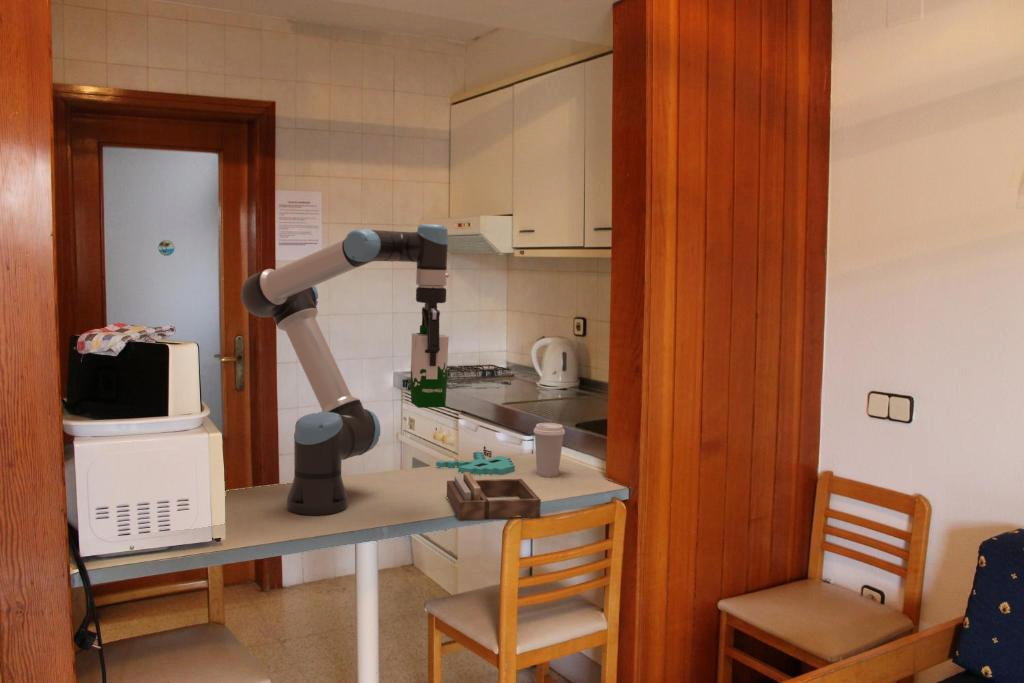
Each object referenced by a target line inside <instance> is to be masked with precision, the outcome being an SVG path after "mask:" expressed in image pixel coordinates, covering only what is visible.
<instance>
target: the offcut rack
mask: <svg viewBox="0 0 1024 683" xmlns="http://www.w3.org/2000/svg"><path fill="white" fill-rule="evenodd" d="M454 481H455V480H446V498H447V497H448V499H449V500H448V499H447V500H448V502H449V501H450V502H449V504H450V503H451V504H450V506H451V505H452V506H451V508H452V507H453V508H452V510H453V511H454V512H455V515H456V516H457V518H458V520H459V521H471V520H472V521H473V520H496V519H497V520H500V519H503V520H505V519H511V518H510V517H512V516H514V515H519V516H521V517H522V518H521V519H524V518H525V519H526V518H529V519H531V518H541V507H542V506H541V503H542V502H541V501H542V500H541V498H540V497H539V496H538V495H537V494H536V492H534V491H533V489H531V487H530V486H529V485H528V484H527V483H526V482H525V481H524V480H523V479H522V478H505V479H501V478H500V479H498V478H495V479H475V481H476V482H477V484H478V485H479V486H480V488H481V494H480V500H475V501H464V500H463V499H462V497H461V495H460V494H459V492H458V490H457V489H456V487H455V486H454ZM491 496H505V497H518V498H513V499H512V498H510V499H507V498H506V499H488V498H492V497H491Z"/></svg>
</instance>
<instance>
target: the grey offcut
mask: <svg viewBox="0 0 1024 683" xmlns="http://www.w3.org/2000/svg"><path fill="white" fill-rule="evenodd" d="M453 481H454V486H455V487H456V489H457V490H458V492H459V494H460V495H461V497H462V499H463V500H464V501H471V491H470V490H469V488H468V487H467V485H466V484H465V482H464V481H463V477H462V476H461V475H454V480H453Z"/></svg>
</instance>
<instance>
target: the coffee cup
mask: <svg viewBox="0 0 1024 683" xmlns="http://www.w3.org/2000/svg"><path fill="white" fill-rule="evenodd" d="M533 433H534V441H535V442H534V443H535V444H534V445H535V462H536V463H535V464H536V465H535V466H536V475H537V476H539V477H543V478H554V477H555V478H556V477H558V476H559V474H560V473H559V471H560V463H561V457H562V450H563V441H564V435H565V434H566V430H565V429H564V426H563V425H562V424H559V423H554V422H540V423H536V425H535V427H534V428H533Z"/></svg>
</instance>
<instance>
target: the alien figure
mask: <svg viewBox="0 0 1024 683" xmlns="http://www.w3.org/2000/svg"><path fill="white" fill-rule="evenodd" d="M472 454H473V457H472V458H473V460H468V461H465V460H458V461H454V460H449V461H444V460H438V461H436V462H435V468H436V469H440V468H441V467H448V468H447V469H451V468H453V469H456V468H458V470H457V472H461V473H460V474H462V473H464V472H469V473H470V474H473V473H476V474H475V475H477V474H479V475H478V476H482V475H481V474H483V475H487V474H489V475H488V476H493V475H492V474H494V475H499V476H503V475H507V474H510V472H511V473H513V472H514V473H515V471H516V469H515V468H516V467H515V465H514V463H513V460H511V457H507V456H502V455H498V456H494V457H490V458H486V456H485V454H484V451H483V452H482V451H478V450H477V451H474V452H473V453H472ZM436 466H438V467H436ZM455 466H457V467H455ZM473 475H474V474H473Z"/></svg>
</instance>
